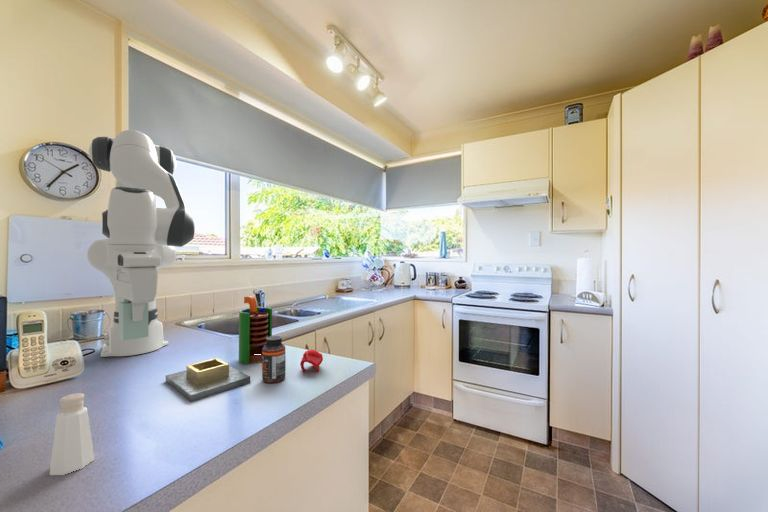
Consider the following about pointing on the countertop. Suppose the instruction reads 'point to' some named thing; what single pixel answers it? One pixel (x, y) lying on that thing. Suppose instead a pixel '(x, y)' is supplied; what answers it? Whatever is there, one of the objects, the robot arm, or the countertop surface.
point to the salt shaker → (71, 437)
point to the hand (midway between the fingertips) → (133, 318)
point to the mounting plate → (206, 379)
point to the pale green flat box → (132, 322)
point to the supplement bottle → (273, 360)
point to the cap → (312, 359)
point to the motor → (253, 331)
